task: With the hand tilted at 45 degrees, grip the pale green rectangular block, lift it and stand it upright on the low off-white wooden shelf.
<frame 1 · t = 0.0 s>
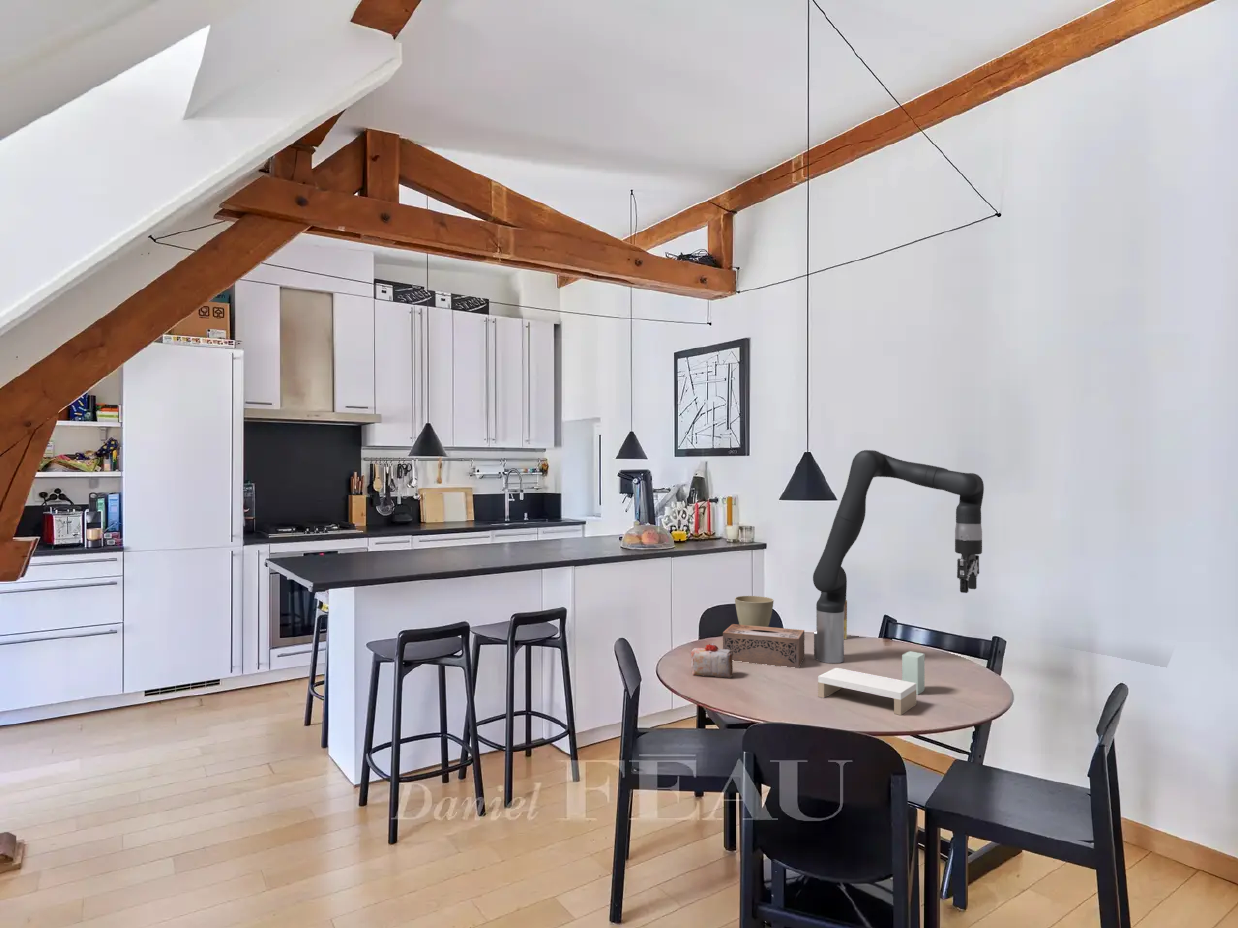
hand: (968, 590, 222), 29 cm above the table, tool pointing down, fingers open, 8 cm apart
pale green rectangular block: (913, 690, 217), on the table
food item: (711, 675, 234), on the table
plant pot: (754, 640, 281), on the table
candy box: (834, 639, 282), on the table
tissue box cover: (763, 660, 253), on the table
shelf: (866, 700, 208), on the table
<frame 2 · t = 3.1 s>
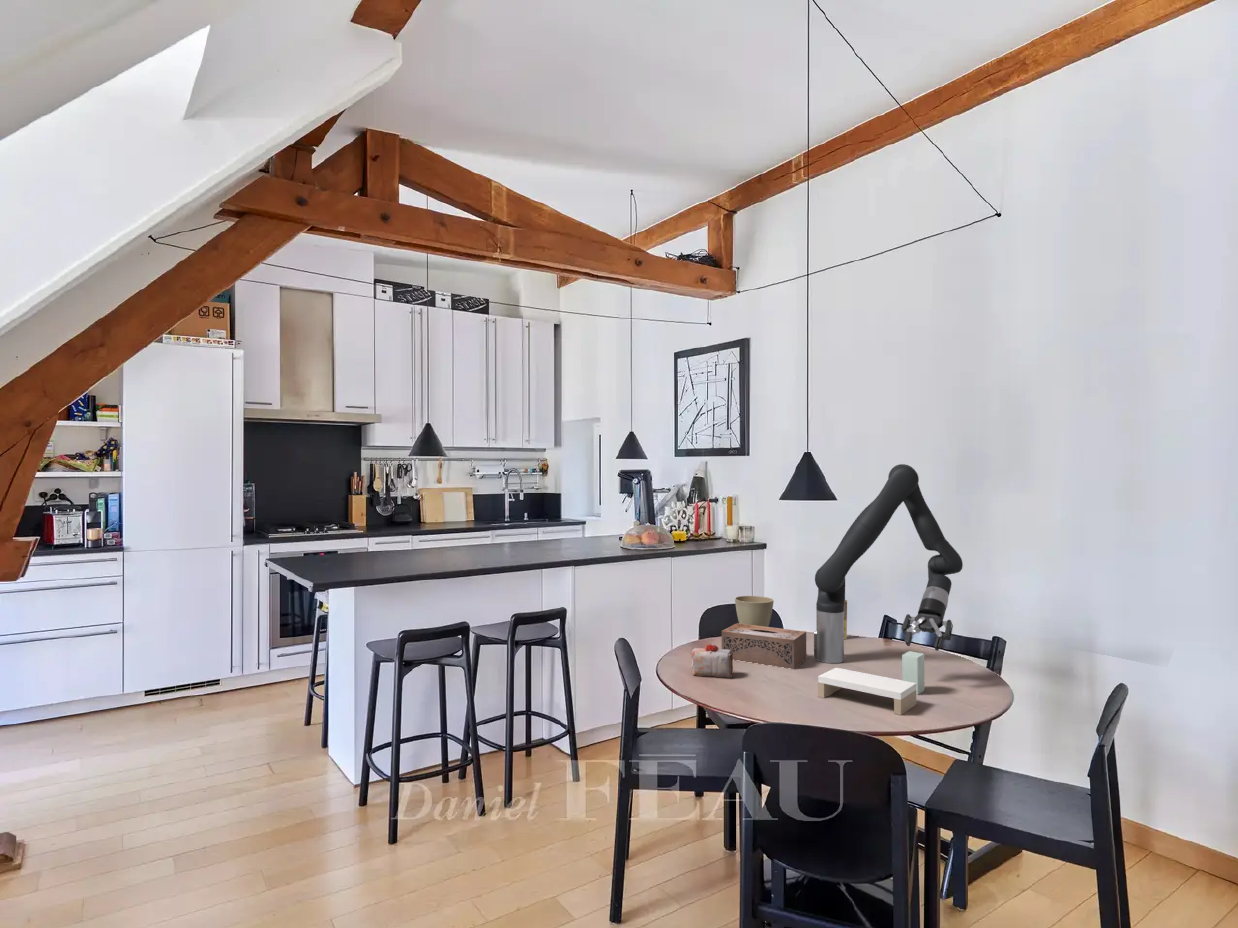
hand: (921, 646, 222), 12 cm above the table, tool tilted 45°, fingers open, 8 cm apart
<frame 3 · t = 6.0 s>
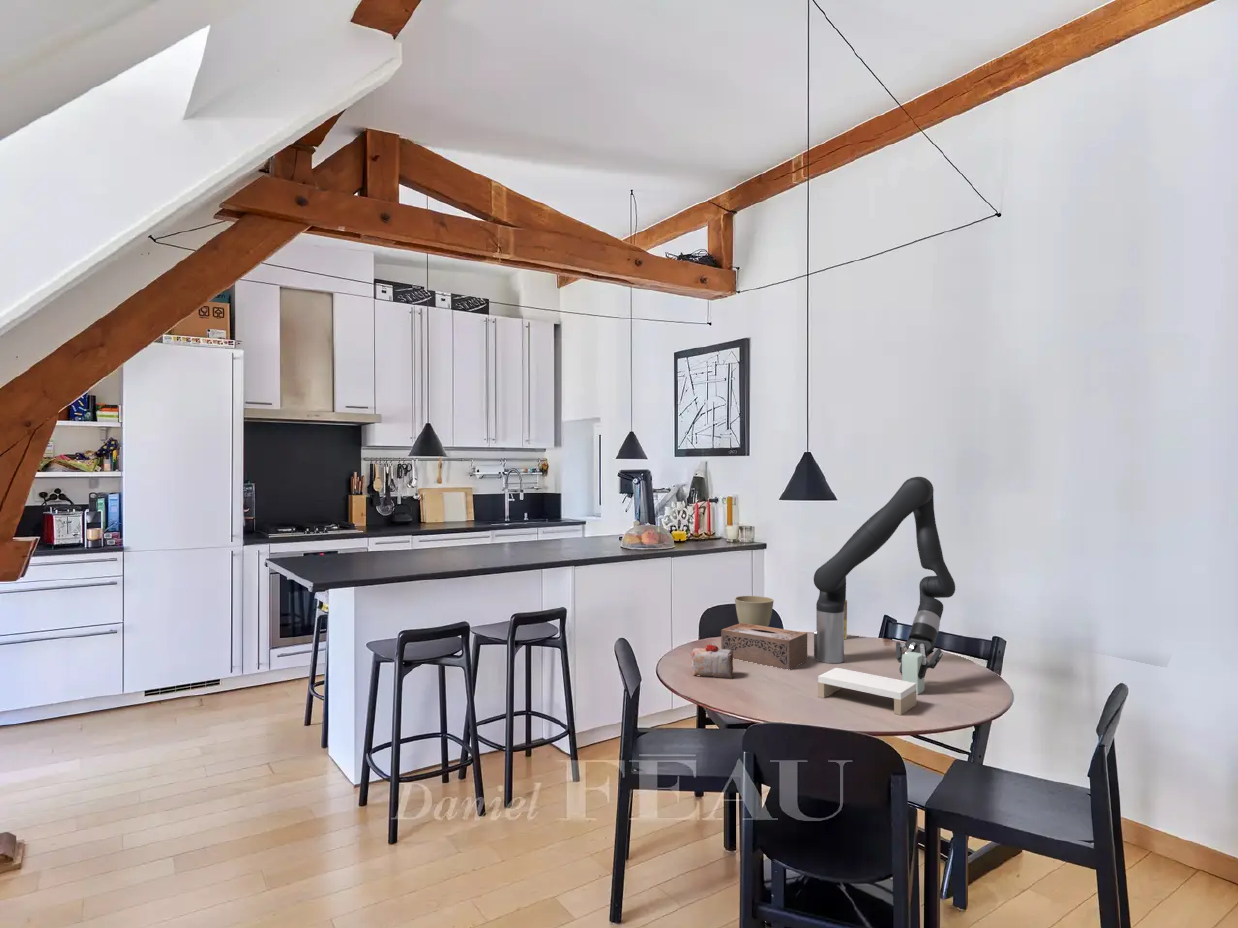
hand: (911, 675, 216), 5 cm above the table, tool tilted 45°, fingers closed on pale green rectangular block, 4 cm apart
pale green rectangular block: (913, 690, 217), on the table, touching gripper
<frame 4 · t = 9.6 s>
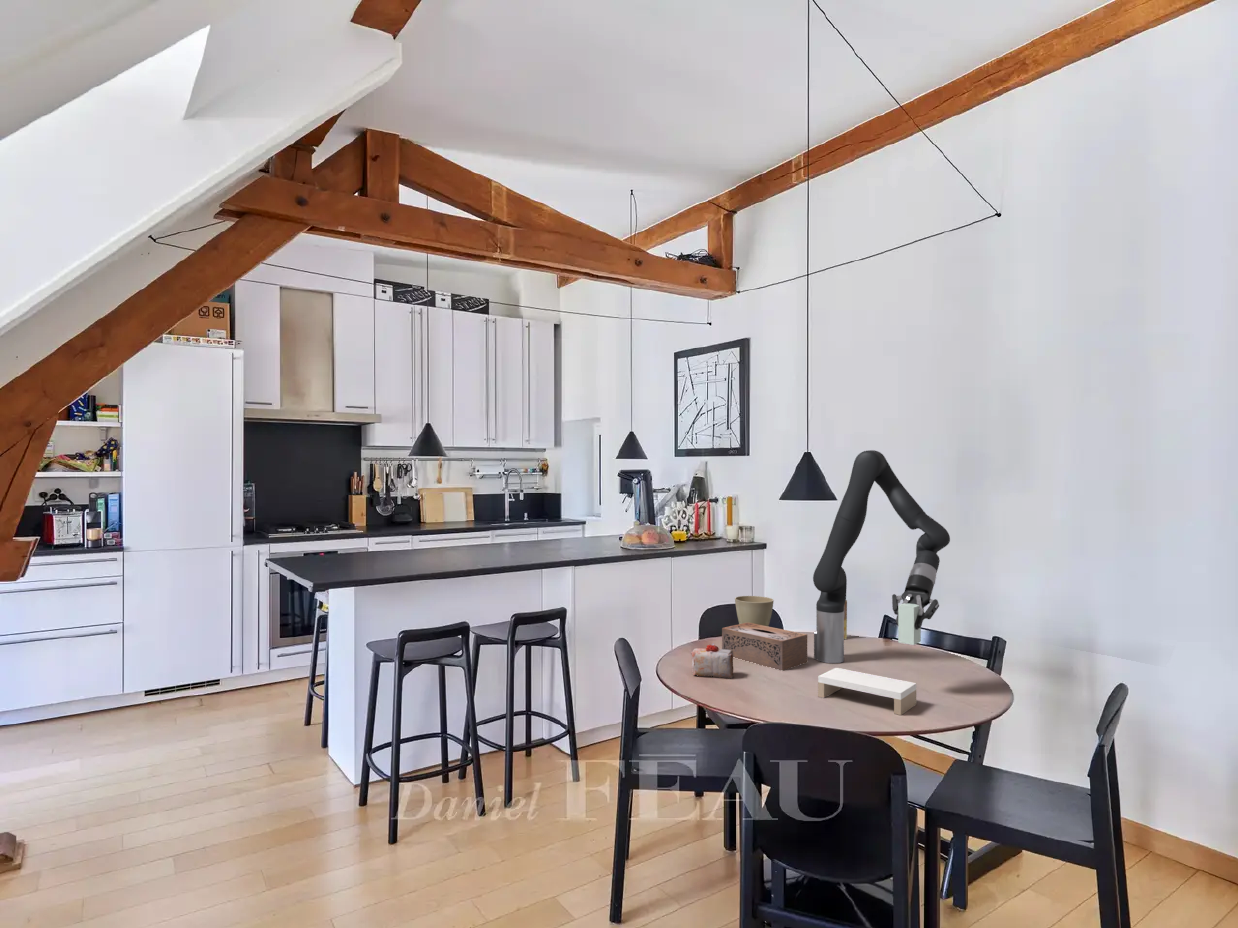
hand: (907, 626, 215), 20 cm above the table, tool tilted 45°, fingers closed on pale green rectangular block, 4 cm apart
pale green rectangular block: (909, 641, 216), point 15 cm above the table, touching gripper
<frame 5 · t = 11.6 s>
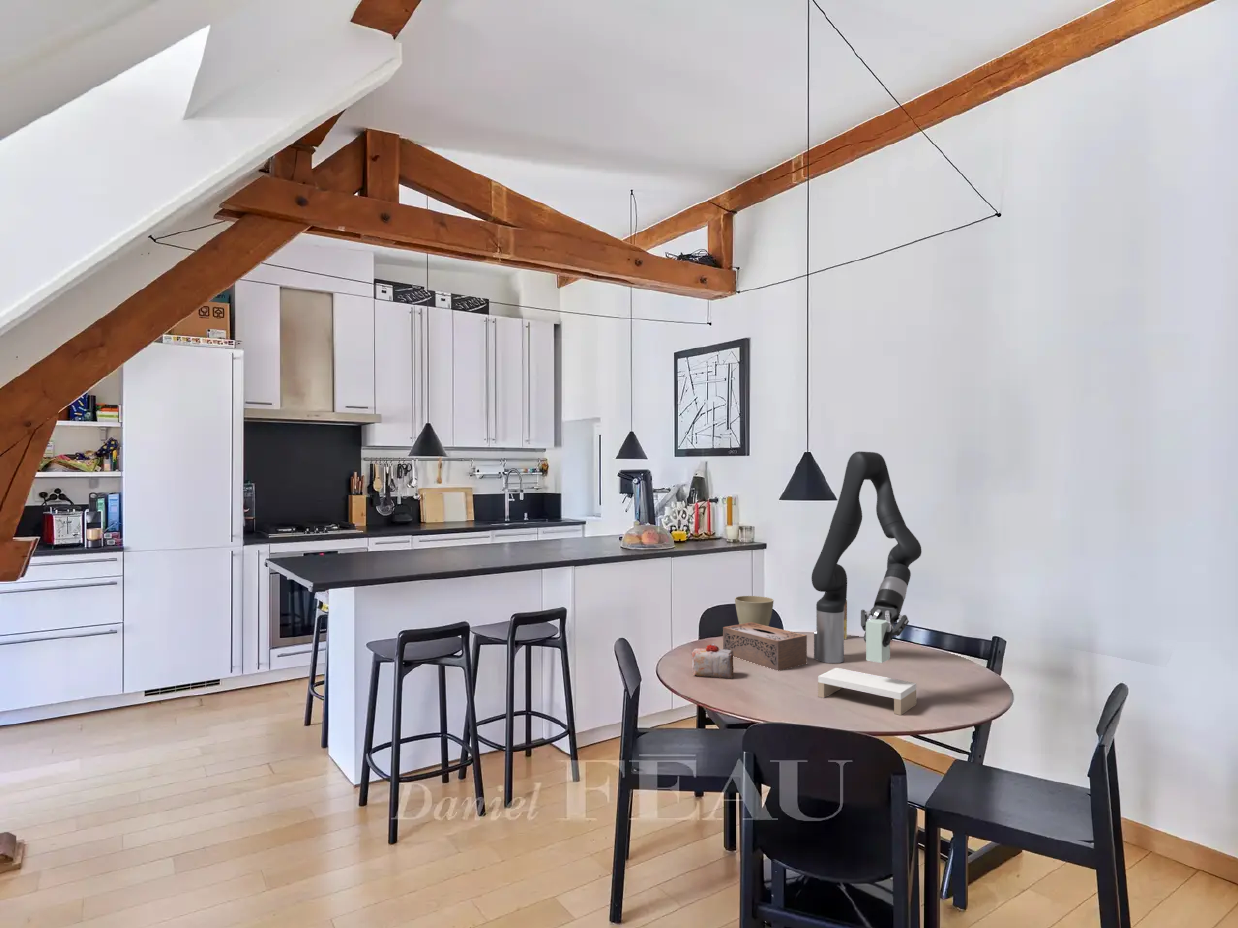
hand: (875, 643, 206), 17 cm above the table, tool tilted 45°, fingers closed on pale green rectangular block, 4 cm apart
pale green rectangular block: (878, 659, 207), point 12 cm above the table, touching gripper
when the fingers open (12 cm above the table, at t = 13.3 s): pale green rectangular block drops 1 cm, resting on shelf.
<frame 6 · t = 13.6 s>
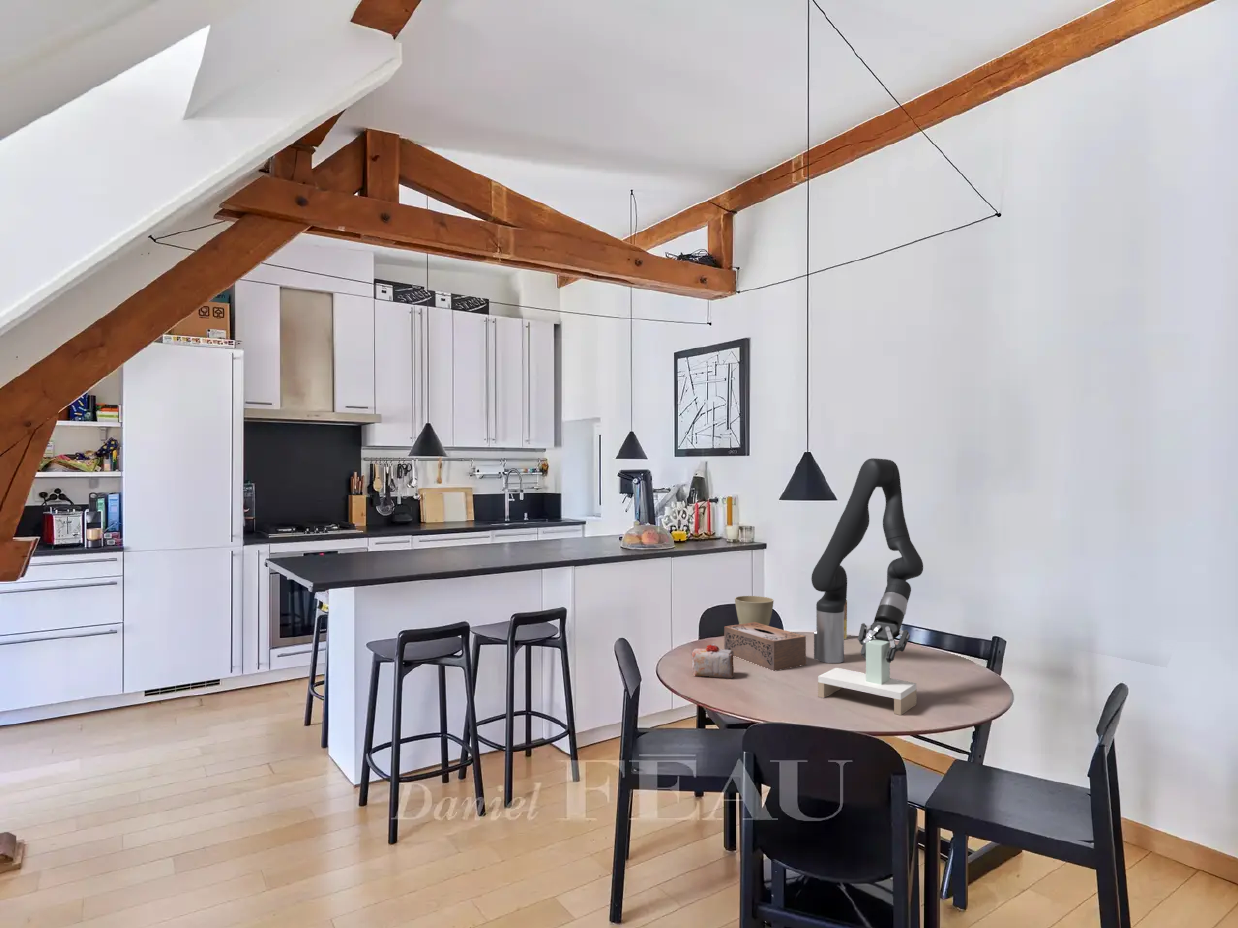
hand: (875, 658, 206), 13 cm above the table, tool tilted 45°, fingers open, 6 cm apart
pale green rectangular block: (877, 680, 207), point 6 cm above the table, touching shelf
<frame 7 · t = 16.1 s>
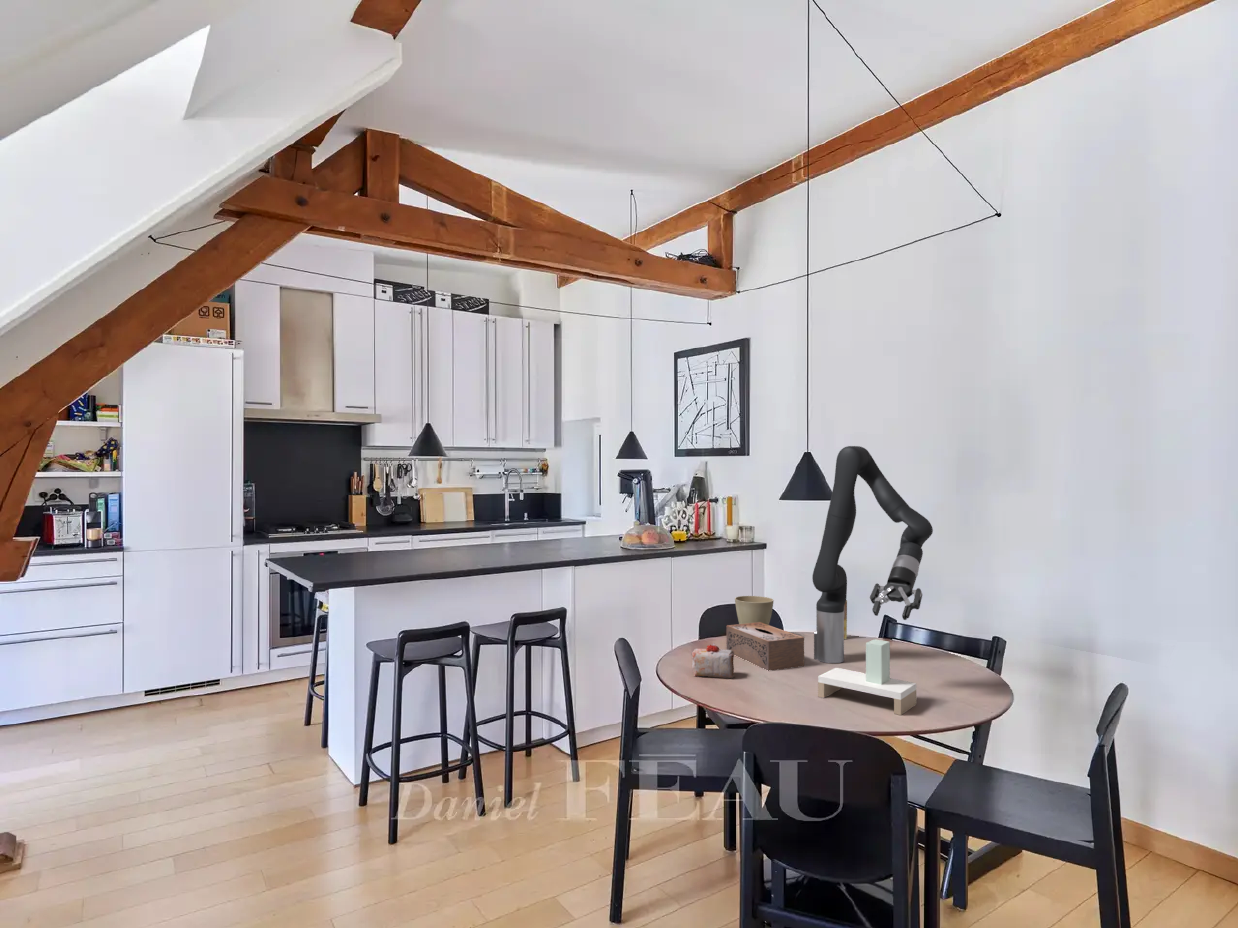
hand: (889, 616, 214), 23 cm above the table, tool tilted 45°, fingers open, 8 cm apart
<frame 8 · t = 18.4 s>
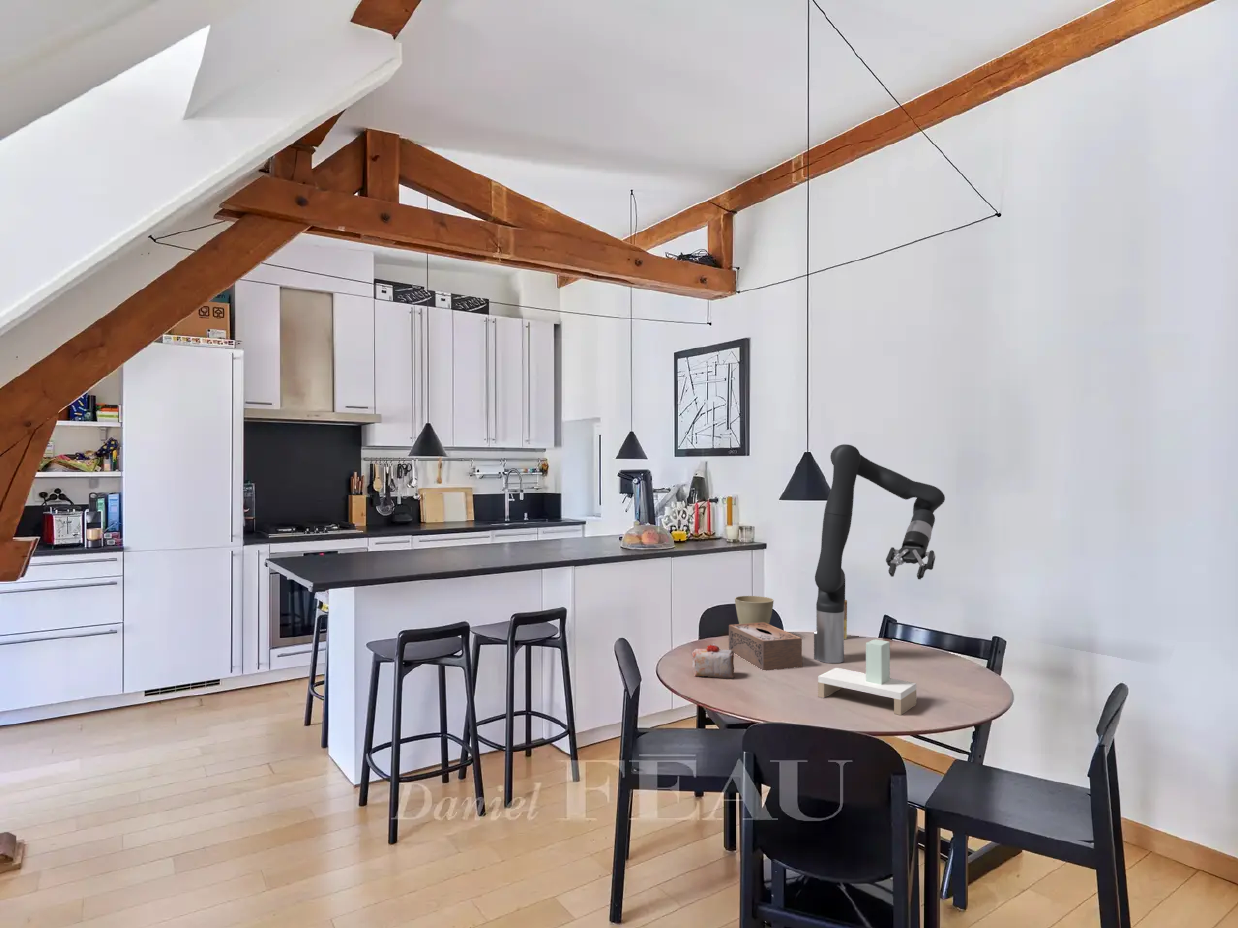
hand: (904, 576, 228), 33 cm above the table, tool tilted 45°, fingers open, 8 cm apart
at the end: pale green rectangular block inside the target area on the shelf (3.1 cm from its centre), point 6.0 cm above the shelf's base; pale green rectangular block tilted 0°; the gripper is holding nothing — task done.
